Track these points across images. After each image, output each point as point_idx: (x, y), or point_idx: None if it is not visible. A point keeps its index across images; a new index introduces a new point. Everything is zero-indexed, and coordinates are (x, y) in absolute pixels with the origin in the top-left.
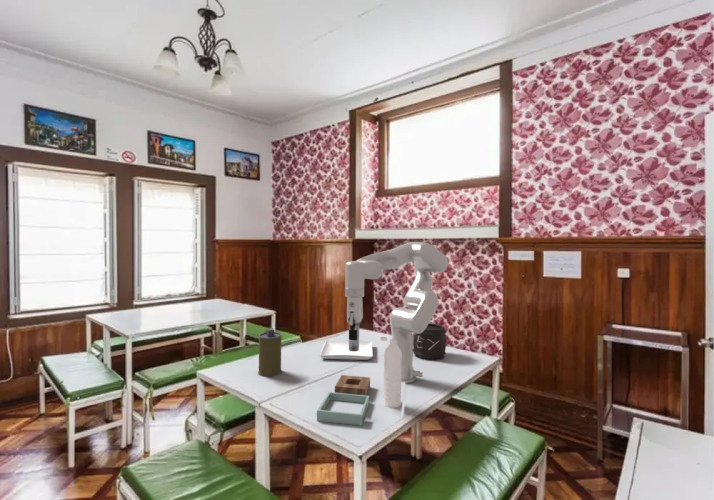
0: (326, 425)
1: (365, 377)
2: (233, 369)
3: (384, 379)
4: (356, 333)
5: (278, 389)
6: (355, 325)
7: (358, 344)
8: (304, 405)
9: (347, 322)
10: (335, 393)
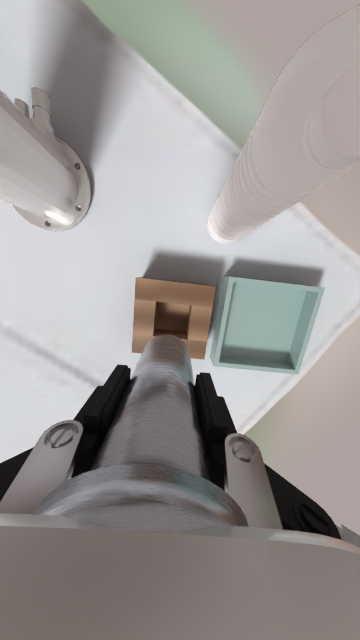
0: None
1: (137, 290)
2: None
3: (257, 225)
4: (219, 405)
5: None
6: (273, 504)
7: (174, 347)
8: (230, 393)
9: None
10: (220, 351)
